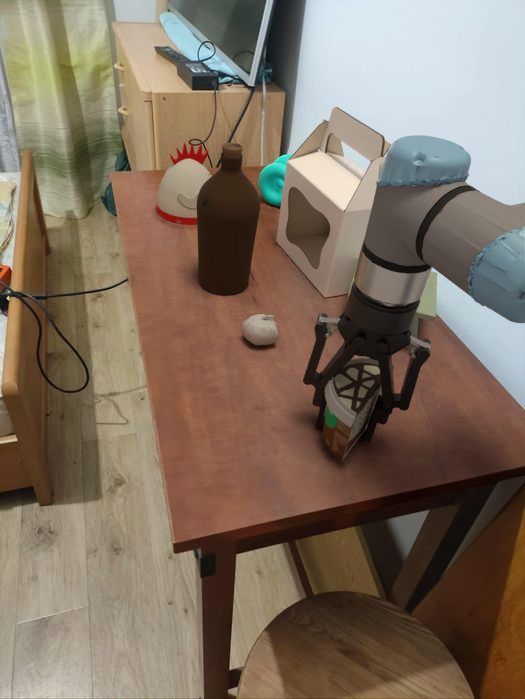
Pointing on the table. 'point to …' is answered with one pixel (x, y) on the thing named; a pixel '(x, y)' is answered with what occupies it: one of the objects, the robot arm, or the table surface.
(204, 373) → the table surface
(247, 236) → the olive oil
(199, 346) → the table surface
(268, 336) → the garlic
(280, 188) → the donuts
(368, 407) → the food container
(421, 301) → the stand
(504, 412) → the table surface
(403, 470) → the table surface
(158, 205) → the kitchen timer
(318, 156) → the gable box
